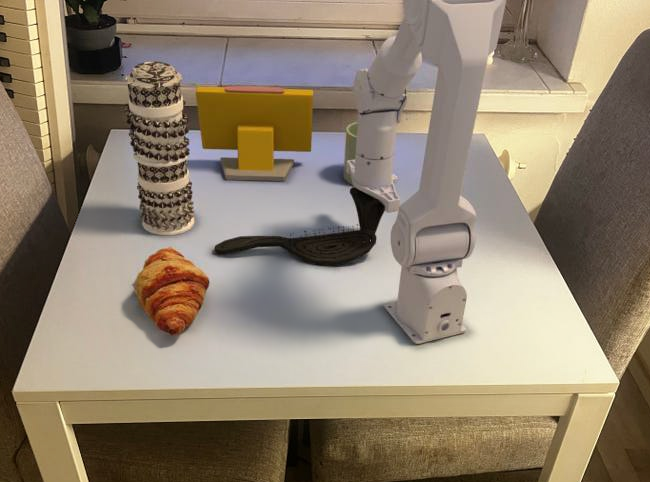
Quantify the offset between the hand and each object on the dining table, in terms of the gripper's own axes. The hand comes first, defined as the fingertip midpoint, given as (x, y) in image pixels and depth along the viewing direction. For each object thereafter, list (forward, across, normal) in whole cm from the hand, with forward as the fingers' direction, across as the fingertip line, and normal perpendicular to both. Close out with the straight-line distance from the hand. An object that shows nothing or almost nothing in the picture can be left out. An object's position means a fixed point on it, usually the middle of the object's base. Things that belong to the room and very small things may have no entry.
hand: (368, 232), depth 123 cm
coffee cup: (+1, +20, -9) cm, 22 cm away
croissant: (+1, -6, +34) cm, 34 cm away
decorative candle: (+1, +16, +29) cm, 33 cm away
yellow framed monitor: (+1, +29, +9) cm, 30 cm away
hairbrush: (+1, 0, +13) cm, 13 cm away
